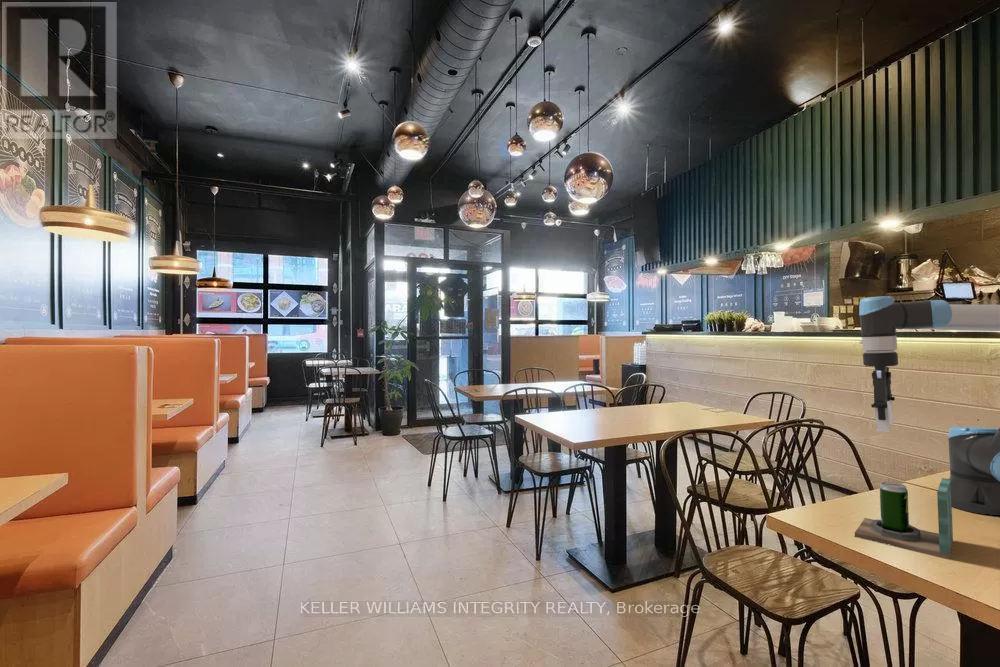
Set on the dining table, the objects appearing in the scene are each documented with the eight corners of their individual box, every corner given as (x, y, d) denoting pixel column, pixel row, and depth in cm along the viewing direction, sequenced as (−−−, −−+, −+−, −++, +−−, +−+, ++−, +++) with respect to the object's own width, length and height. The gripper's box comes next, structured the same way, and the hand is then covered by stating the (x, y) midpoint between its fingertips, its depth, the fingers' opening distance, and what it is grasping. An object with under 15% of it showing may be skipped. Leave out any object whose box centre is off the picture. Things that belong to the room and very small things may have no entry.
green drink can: (884, 534, 113) (882, 486, 113) (878, 526, 118) (877, 480, 118) (912, 539, 111) (910, 489, 111) (906, 530, 115) (904, 483, 115)
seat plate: (865, 521, 124) (862, 466, 124) (953, 540, 111) (950, 479, 111) (854, 536, 115) (852, 477, 115) (949, 559, 102) (946, 492, 103)
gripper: (867, 349, 139) (872, 419, 139) (857, 354, 121) (863, 434, 121) (900, 348, 134) (905, 421, 134) (894, 353, 116) (900, 437, 116)
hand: (885, 427), depth 127 cm, fingers open, 13 cm apart
